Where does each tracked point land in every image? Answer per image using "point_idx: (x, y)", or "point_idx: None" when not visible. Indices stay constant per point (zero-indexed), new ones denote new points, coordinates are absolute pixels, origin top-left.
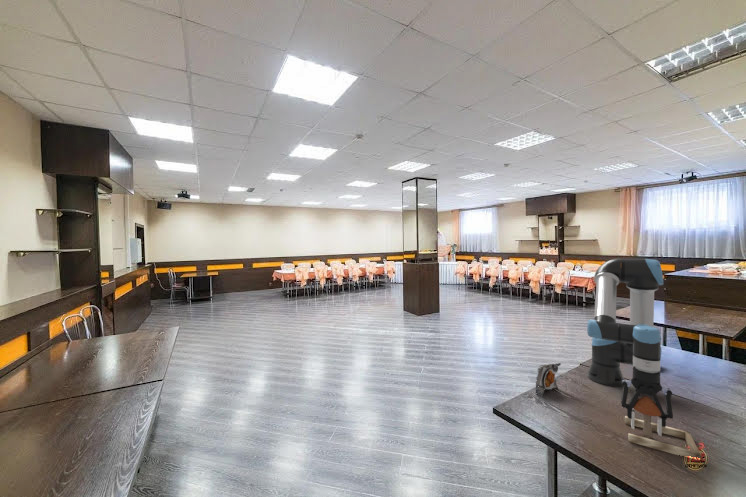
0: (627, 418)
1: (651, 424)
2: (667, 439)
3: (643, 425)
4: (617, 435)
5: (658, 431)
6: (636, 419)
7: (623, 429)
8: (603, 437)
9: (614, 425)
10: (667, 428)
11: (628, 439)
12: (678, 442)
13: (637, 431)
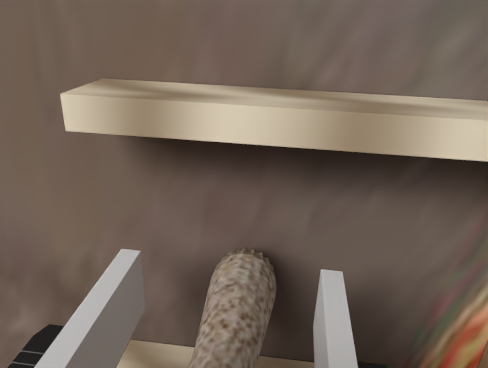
0: (90, 128)
1: (304, 145)
2: (400, 194)
3: (201, 321)
4: (71, 302)
5: (315, 341)
6: (167, 122)
7: (99, 201)
8: (9, 355)
9: (37, 169)
10: (452, 157)
11: (125, 356)
12: (476, 201)
13: (192, 178)
